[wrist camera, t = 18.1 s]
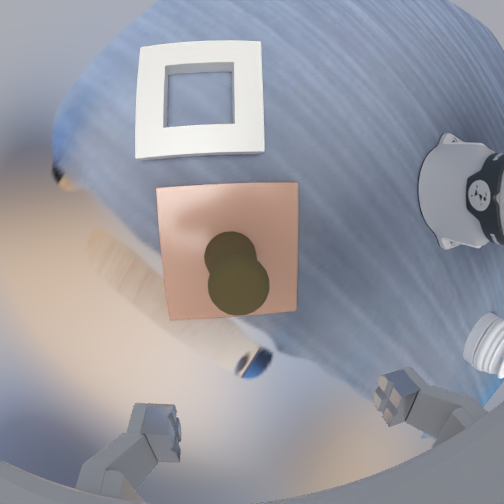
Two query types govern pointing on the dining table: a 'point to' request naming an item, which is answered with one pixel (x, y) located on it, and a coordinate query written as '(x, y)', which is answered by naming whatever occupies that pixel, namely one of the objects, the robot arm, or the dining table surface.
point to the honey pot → (486, 345)
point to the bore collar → (199, 136)
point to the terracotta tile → (224, 220)
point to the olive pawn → (235, 274)
